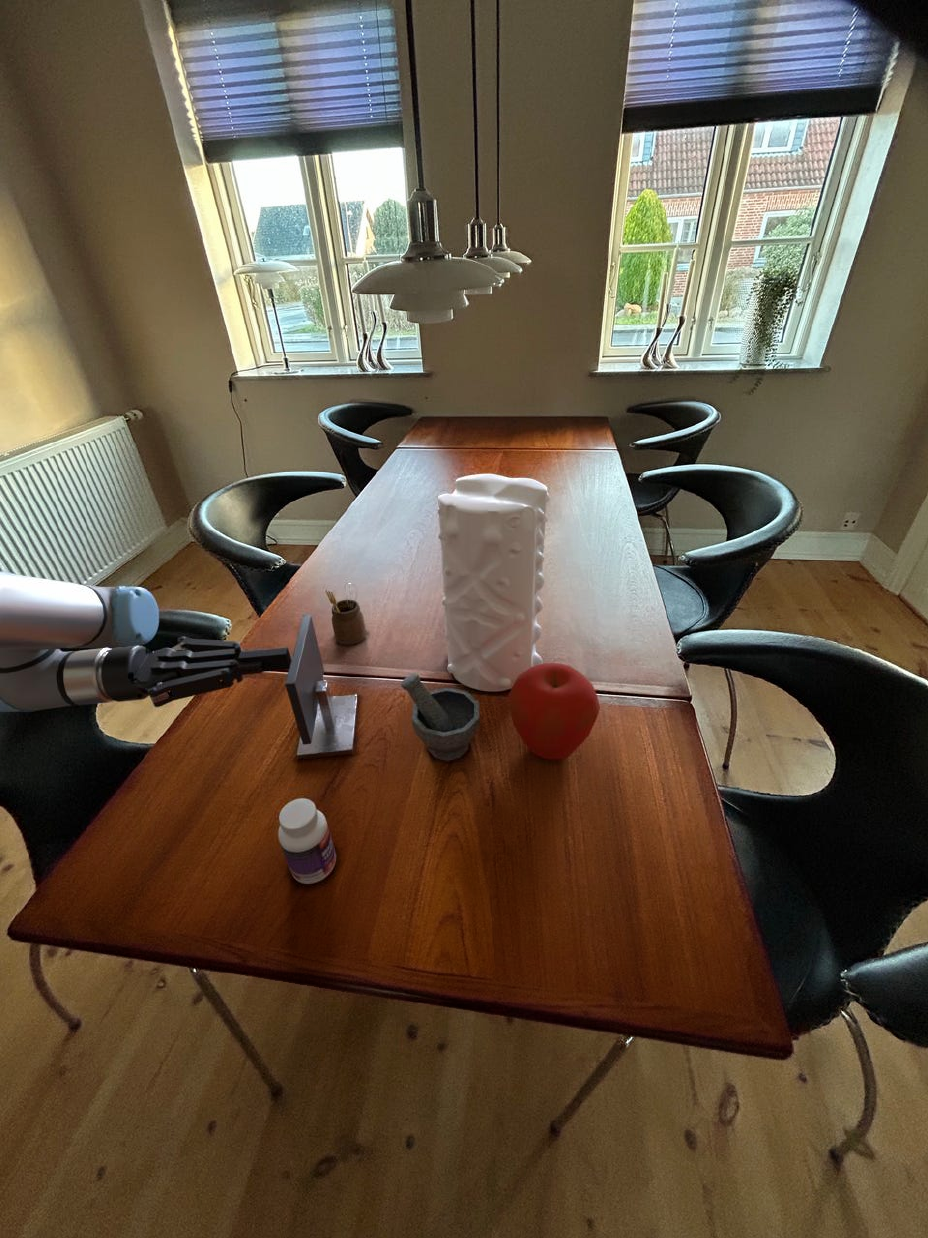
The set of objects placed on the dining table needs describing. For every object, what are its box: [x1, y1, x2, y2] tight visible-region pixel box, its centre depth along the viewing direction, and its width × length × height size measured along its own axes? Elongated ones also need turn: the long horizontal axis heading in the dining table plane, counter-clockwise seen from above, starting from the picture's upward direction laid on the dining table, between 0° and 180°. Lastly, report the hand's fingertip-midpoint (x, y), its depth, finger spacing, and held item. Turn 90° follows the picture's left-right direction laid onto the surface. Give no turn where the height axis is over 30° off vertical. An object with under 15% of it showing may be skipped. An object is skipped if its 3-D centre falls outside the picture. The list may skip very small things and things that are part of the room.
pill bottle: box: [277, 797, 337, 885], centre depth 61 cm, size 5×5×10 cm
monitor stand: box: [296, 679, 359, 761], centre depth 80 cm, size 8×12×8 cm, turn 6°
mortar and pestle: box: [401, 673, 480, 762], centre depth 76 cm, size 11×9×12 cm
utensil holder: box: [325, 582, 367, 646], centre depth 99 cm, size 6×6×12 cm
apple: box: [506, 662, 601, 760], centre depth 74 cm, size 12×12×14 cm
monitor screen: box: [284, 614, 325, 745], centre depth 76 cm, size 1×16×11 cm, turn 6°
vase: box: [437, 473, 551, 692], centre depth 85 cm, size 17×16×32 cm
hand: (289, 658), depth 75 cm, fingers closed
